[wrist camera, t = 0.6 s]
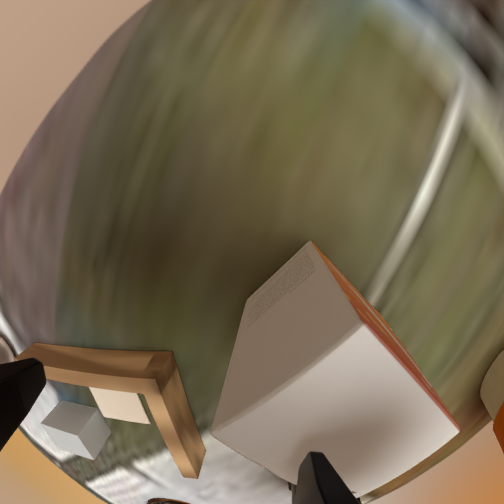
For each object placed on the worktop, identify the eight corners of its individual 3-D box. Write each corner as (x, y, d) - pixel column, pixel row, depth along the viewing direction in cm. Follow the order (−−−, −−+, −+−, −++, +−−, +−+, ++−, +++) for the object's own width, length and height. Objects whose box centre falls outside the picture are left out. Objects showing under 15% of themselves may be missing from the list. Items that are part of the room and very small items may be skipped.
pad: (150, 422, 25) (150, 424, 24) (104, 415, 25) (103, 416, 25) (131, 377, 23) (130, 378, 23) (83, 372, 24) (83, 373, 24)
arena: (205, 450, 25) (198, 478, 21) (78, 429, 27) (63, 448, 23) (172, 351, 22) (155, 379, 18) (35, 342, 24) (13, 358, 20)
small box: (380, 312, 20) (464, 432, 7) (318, 365, 21) (343, 506, 9) (309, 235, 19) (365, 320, 7) (243, 298, 21) (203, 438, 8)
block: (111, 432, 26) (94, 460, 21) (75, 423, 27) (56, 447, 22) (98, 407, 25) (77, 435, 20) (61, 399, 26) (40, 423, 21)
